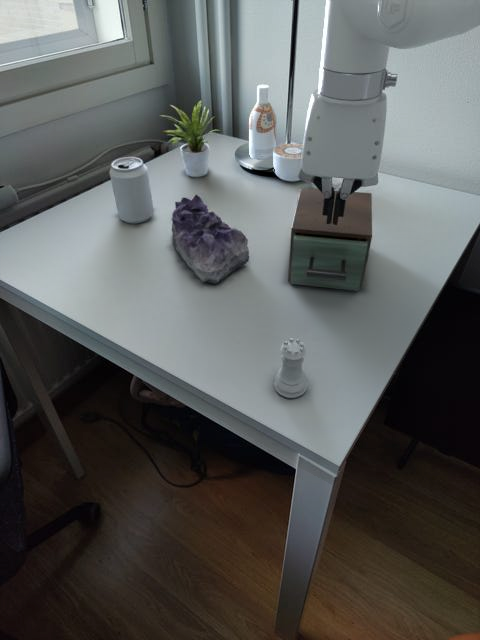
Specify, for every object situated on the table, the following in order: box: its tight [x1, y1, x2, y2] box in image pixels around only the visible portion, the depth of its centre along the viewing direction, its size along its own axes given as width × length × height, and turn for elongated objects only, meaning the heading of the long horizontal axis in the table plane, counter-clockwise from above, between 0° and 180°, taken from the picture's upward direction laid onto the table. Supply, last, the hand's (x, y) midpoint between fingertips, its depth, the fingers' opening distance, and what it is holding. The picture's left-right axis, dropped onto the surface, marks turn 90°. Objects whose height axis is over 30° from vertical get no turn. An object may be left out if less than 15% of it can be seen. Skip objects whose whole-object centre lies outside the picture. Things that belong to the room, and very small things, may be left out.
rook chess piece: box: [273, 337, 308, 399], centre depth 60 cm, size 4×4×8 cm
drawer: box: [290, 233, 367, 292], centre depth 78 cm, size 18×11×9 cm, turn 168°
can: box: [108, 156, 155, 224], centre depth 95 cm, size 8×8×12 cm
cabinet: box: [287, 187, 373, 290], centre depth 81 cm, size 15×13×11 cm
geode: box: [171, 194, 250, 285], centre depth 84 cm, size 20×12×10 cm, turn 33°
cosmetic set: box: [248, 84, 318, 189], centre depth 106 cm, size 25×9×19 cm, turn 46°
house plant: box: [160, 100, 220, 178], centre depth 111 cm, size 14×14×16 cm
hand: (332, 219), depth 67 cm, fingers closed
